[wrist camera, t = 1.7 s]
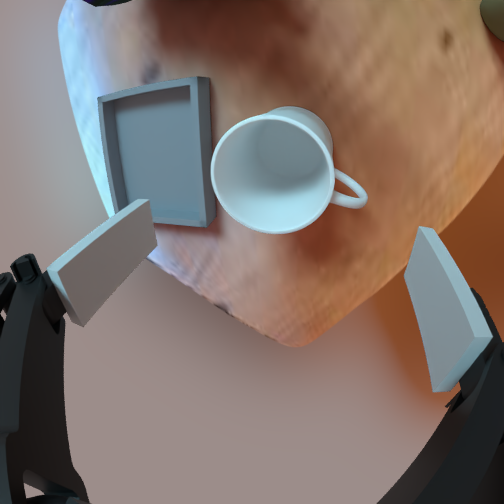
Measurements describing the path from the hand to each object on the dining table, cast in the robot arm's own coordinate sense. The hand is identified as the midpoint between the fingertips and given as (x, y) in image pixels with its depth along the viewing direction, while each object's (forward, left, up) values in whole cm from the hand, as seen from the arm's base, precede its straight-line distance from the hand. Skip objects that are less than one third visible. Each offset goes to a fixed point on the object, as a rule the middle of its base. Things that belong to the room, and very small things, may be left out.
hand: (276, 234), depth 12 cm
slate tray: (+17, 0, -18) cm, 24 cm away
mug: (0, 0, -18) cm, 18 cm away
